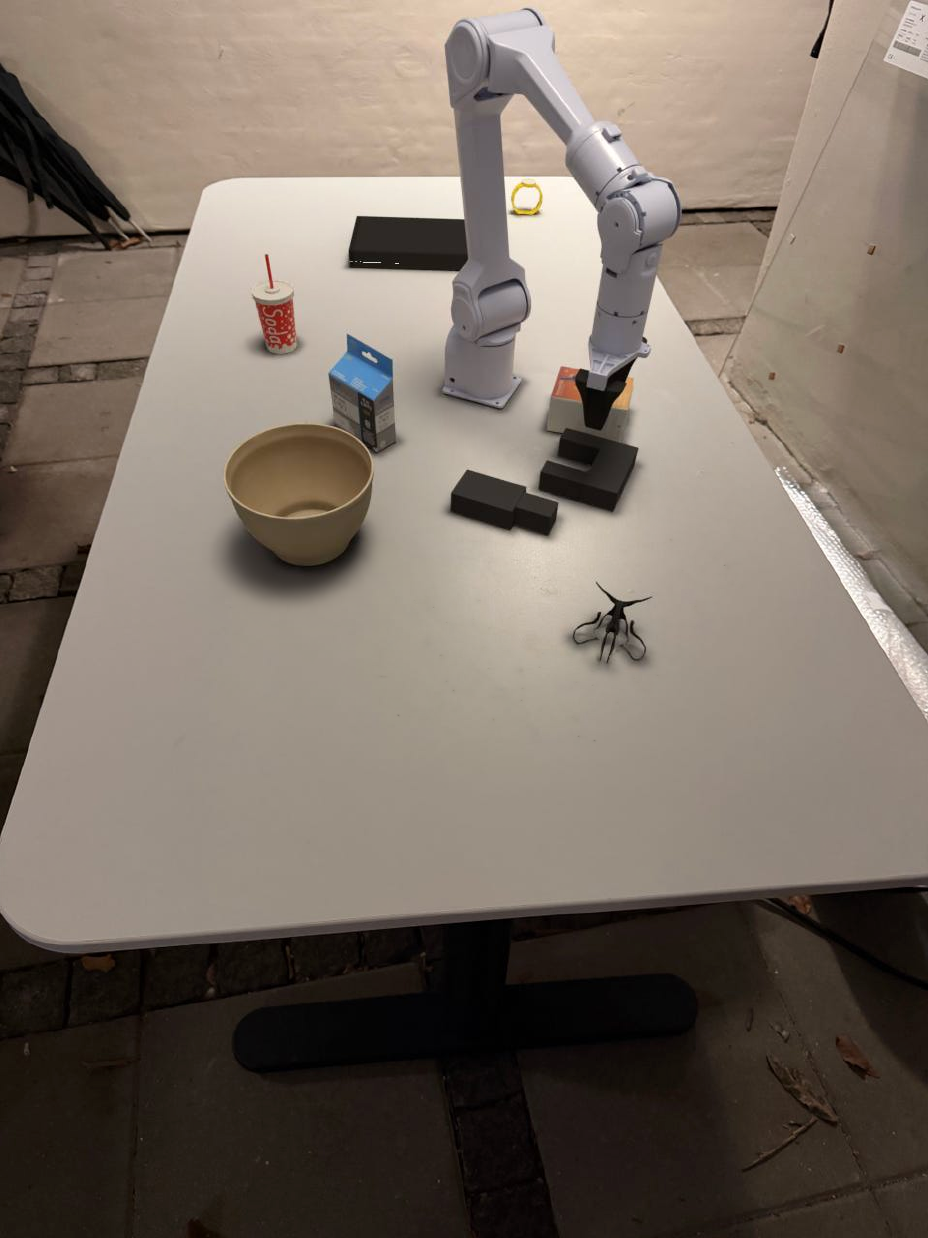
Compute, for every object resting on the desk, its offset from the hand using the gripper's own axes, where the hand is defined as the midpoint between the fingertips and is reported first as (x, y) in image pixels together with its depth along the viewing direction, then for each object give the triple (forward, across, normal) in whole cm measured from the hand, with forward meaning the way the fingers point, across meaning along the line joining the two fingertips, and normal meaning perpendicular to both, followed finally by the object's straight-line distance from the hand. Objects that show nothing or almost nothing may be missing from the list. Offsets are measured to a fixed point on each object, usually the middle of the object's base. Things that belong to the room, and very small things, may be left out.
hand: (602, 409), depth 95 cm
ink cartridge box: (+10, -5, +31) cm, 32 cm away
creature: (+10, -27, -10) cm, 30 cm away
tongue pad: (+9, -13, +7) cm, 17 cm away
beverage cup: (+10, +9, +52) cm, 54 cm away
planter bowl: (+10, -26, +27) cm, 39 cm away
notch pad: (+9, -2, 0) cm, 9 cm away
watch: (+10, +71, +35) cm, 79 cm away
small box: (+6, +11, -2) cm, 13 cm away
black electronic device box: (+10, +47, +47) cm, 67 cm away
